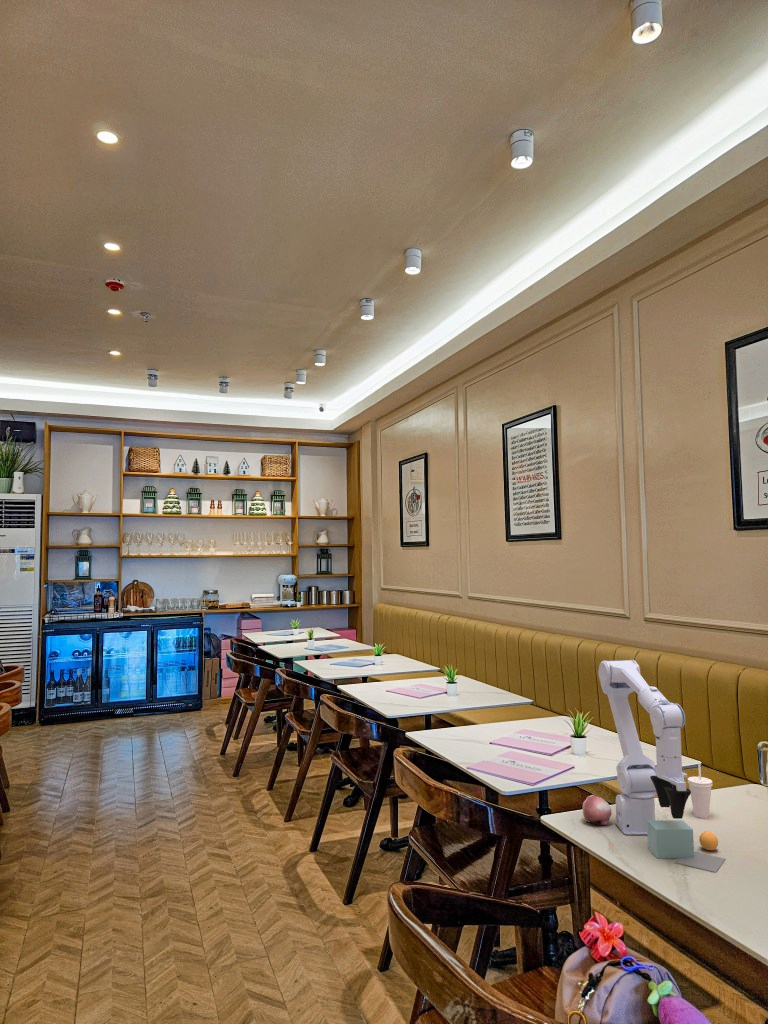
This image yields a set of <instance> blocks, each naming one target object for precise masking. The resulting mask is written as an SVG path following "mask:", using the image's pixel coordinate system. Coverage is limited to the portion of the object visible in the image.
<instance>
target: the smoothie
mask: <svg viewBox="0 0 768 1024" xmlns="http://www.w3.org/2000/svg"><path fill="white" fill-rule="evenodd" d="M697 767H698V776H689V777H687V784H688V785H689V786H688V787H689V789H690V790H691V794H690V799H691V804H692V810H693V816H694V817H696V818H699V817H700V818H699V819H707V817H708V818H709V817H710V806H711V805H710V804H711V794H712V786H713V780H712V779H710V778H707V777H703V776H702V768H701V764H700V763H698V766H697Z"/></svg>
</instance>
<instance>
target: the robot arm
mask: <svg viewBox="0 0 768 1024" xmlns="http://www.w3.org/2000/svg"><path fill="white" fill-rule="evenodd" d="M597 673H598V674H597V675H598V678H599V679H598V680H599V682H600V687H601V690H602V692H603V694H605V695H607V699H608V703H609V705H610V710H611V713H612V718H613V721H614V725H615V729H616V732H617V736H618V740H619V741H618V742H619V744H620V747H621V751H622V756H623V758H621V760H620V761H619V762H618V763H617V765H616V773H617V775H616V777H617V779H616V781H617V784H618V788H619V790H620V791H621V792H622V793H621V794H616V796H615V817H616V818H615V824H616V826H617V827H618V829H619V830H620V831H621V832H622V833H623V834H624V835H628V836H629V835H631V836H633V835H636V836H637V835H646V836H648V827H647V820H656V810H655V809H656V807H655V805H656V804H655V803H656V802H655V797H657V799H658V803H659V807H660V808H670V812H671V813H670V814H671V817H672V819H673V820H674V819H675V820H677V819H678V820H680V819H681V820H682V819H683V817H684V814H685V813H684V812H685V808H686V804H687V801H688V799H689V797H690V796H691V790H690V788H687V782H686V781H685V779H684V778H688V773H686V772H684V771H683V762H682V760H683V759H682V758H683V757H682V737H681V735H682V734H681V733H682V732H681V731H682V730H681V729H683V728H684V726H685V724H686V715H685V711H684V710H683V708H682V706H681V705H680V704H679V703H673V702H670V700H668V699H667V698H666V697H665V696H664V695H663V693H662V692H661V691H660V690H659V688H657V687H656V686H652V685H651V686H650V685H649V684H648V682H647V681H646V680H645V679H644V677H643V676H642V675H641V667H640V665H639V664H638V663H637V661H636V660H634V659H629V660H627V659H625V660H602V661H601V662H600V663H599V665H598V672H597ZM632 693H636V694H637V699H638V702H639V704H640V705H641V706H642V707H643V709H644V710H646V712H647V713H648V714H649V719H650V720H649V721H650V722H651V725H652V733H653V735H654V736H655V756H656V758H655V759H656V764H655V761H654V760H652V758H650V757H648V756H646V755H645V754H644V753H643V748H642V746H641V745H642V744H641V742H640V738H639V734H638V731H637V727H636V723H635V720H634V716H633V712H632V709H631V706H630V703H629V702H630V701H629V698H628V697H629V695H631V694H632Z"/></svg>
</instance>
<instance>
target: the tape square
mask: <svg viewBox="0 0 768 1024" xmlns="http://www.w3.org/2000/svg"><path fill="white" fill-rule="evenodd" d="M725 861H726V858H724V857H719V856H716V855H710V854H707V853H702V852H699V851H694V857H678V858H675V860H674V864H677V865H682V866H686V867H690V868H693V867H694V869H698V870H703V871H705V872H709V873H714V872H716V873H717V872H718V871H719V870H720V869H721V867H722V865H723V864H724V863H725ZM720 866H721V867H720Z"/></svg>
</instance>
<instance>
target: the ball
mask: <svg viewBox="0 0 768 1024" xmlns="http://www.w3.org/2000/svg"><path fill="white" fill-rule="evenodd" d="M718 839H719V838H718V837H717V835H715V834H714V833H713V832H712V831H703V832H701V833H700V834H699V838H698V841H699V844H700V845H701V847H702V848H703V849H705V850H706V851H714V850H716V849H717V847H718V846H719V840H718Z"/></svg>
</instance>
